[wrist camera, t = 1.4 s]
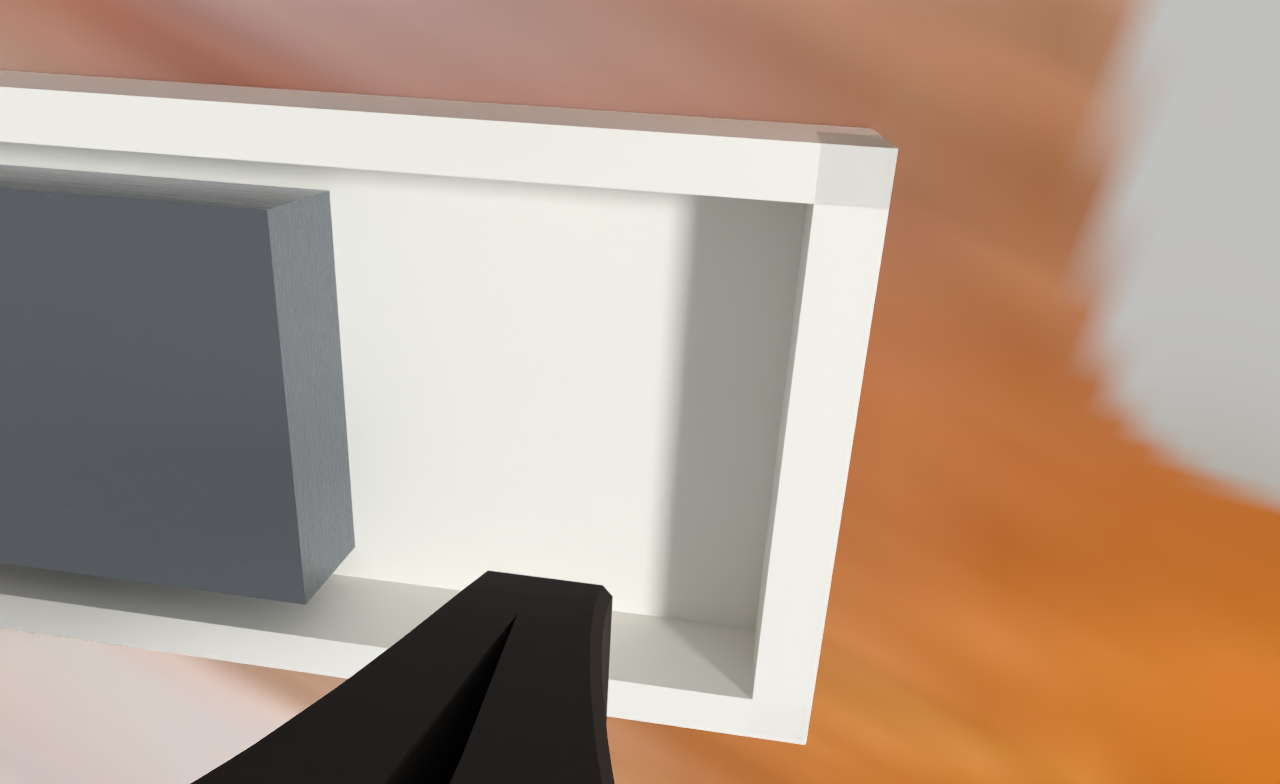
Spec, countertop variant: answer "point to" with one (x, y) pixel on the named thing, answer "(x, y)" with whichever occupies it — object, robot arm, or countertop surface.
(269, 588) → the slate block
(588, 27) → the countertop surface
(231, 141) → the open front case
